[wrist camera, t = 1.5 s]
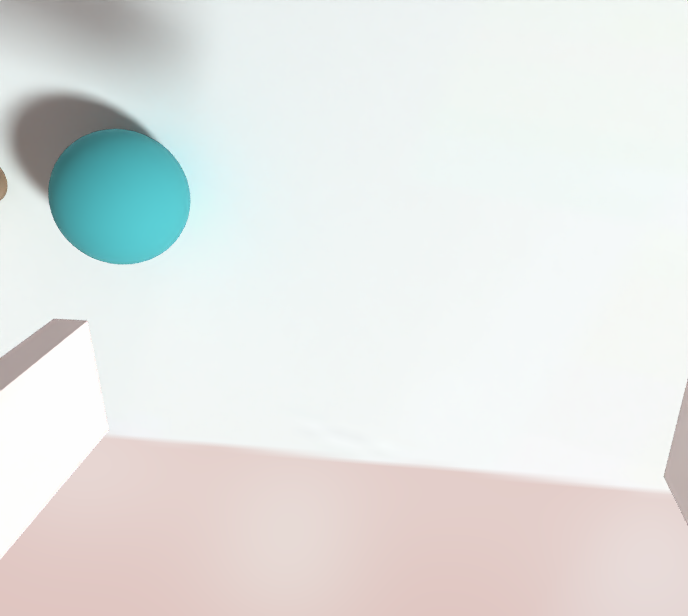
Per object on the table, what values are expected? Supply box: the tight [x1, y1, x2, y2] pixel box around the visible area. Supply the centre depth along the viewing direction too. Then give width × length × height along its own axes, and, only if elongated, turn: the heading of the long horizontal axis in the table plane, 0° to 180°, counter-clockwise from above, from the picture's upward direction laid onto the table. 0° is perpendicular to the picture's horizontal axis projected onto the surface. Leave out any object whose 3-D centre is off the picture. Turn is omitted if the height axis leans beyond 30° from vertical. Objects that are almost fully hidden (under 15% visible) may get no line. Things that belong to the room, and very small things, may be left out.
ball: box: [48, 129, 190, 264], centre depth 28 cm, size 6×6×6 cm
